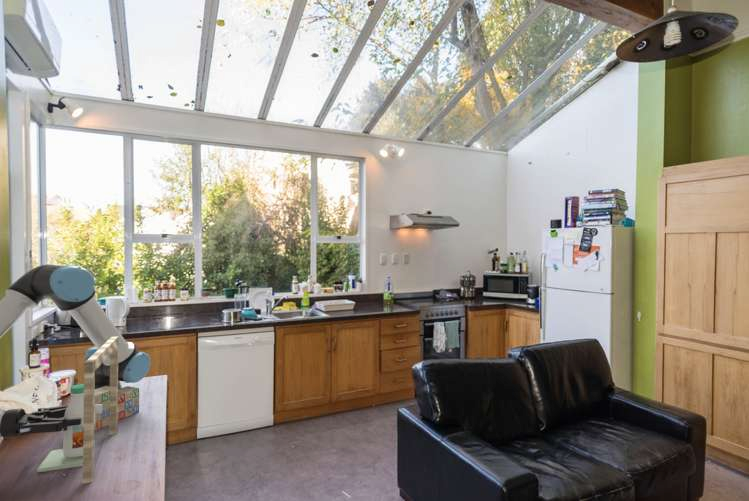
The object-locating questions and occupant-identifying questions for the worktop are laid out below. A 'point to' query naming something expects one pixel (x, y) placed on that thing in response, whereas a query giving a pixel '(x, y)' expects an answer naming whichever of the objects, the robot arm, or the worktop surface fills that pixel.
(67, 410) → the milk bottle
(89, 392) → the door frame
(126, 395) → the stack of blocks
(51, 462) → the sage mat
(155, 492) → the worktop surface
